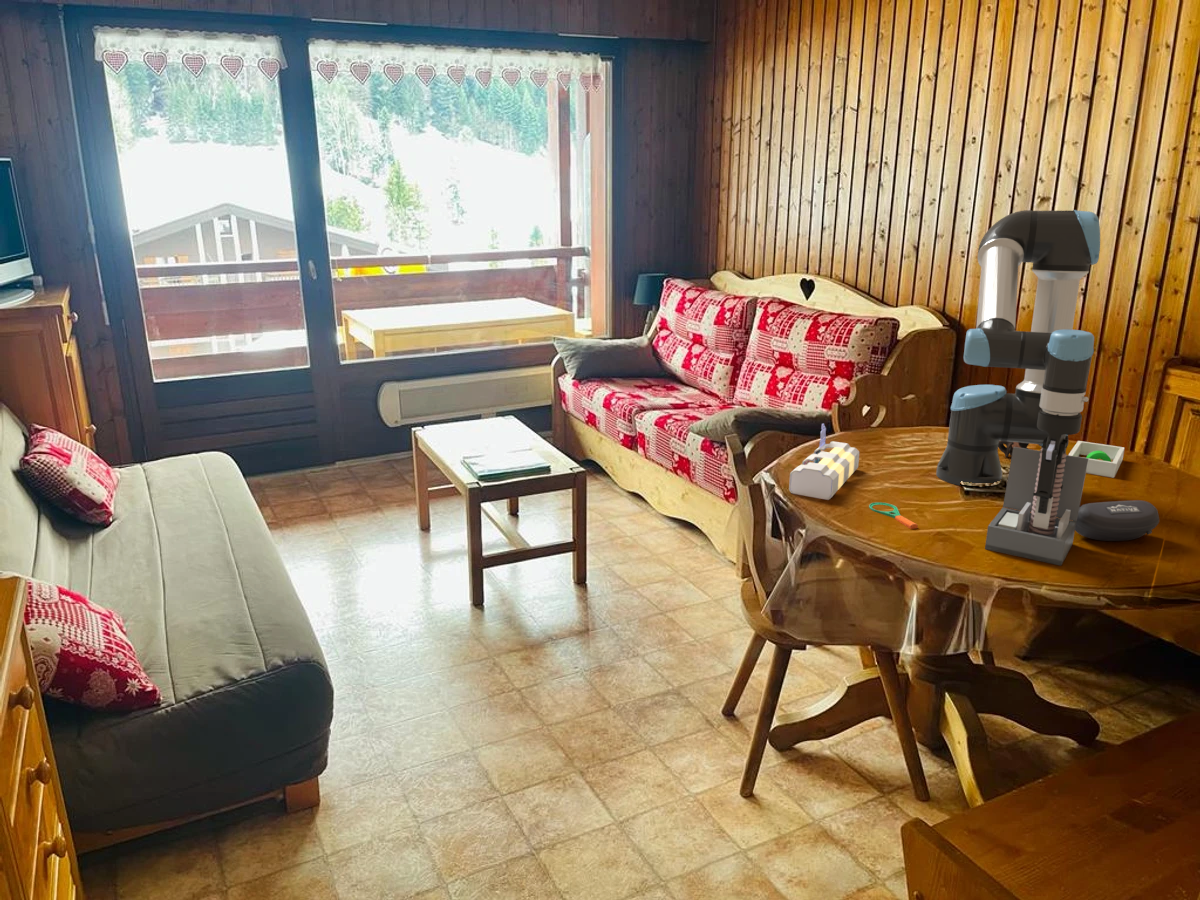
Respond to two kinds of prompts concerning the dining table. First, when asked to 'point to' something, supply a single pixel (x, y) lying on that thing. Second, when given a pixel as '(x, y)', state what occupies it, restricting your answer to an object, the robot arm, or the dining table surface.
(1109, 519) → the glasses case
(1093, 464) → the parts corral
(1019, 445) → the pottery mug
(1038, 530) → the coil
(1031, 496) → the case
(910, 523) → the magnifying glass
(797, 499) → the dining table surface
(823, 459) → the white striped block
